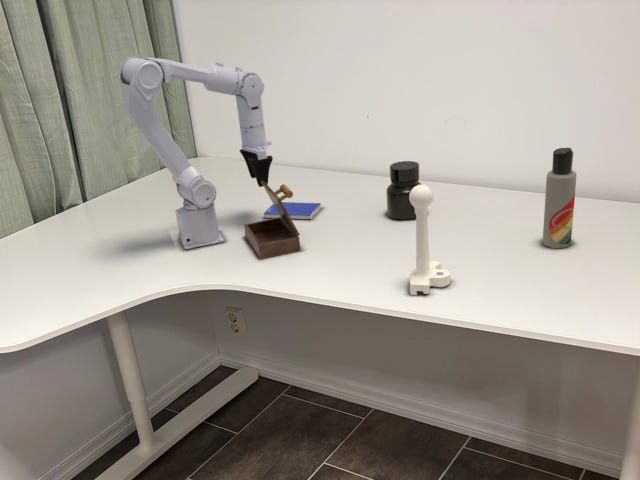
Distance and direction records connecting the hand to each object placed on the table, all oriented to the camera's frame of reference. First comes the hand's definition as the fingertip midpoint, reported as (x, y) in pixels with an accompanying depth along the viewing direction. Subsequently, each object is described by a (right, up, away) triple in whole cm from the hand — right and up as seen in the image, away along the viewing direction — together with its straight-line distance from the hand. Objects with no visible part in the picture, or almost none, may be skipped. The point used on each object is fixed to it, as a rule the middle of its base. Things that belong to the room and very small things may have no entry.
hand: (259, 181), depth 189 cm
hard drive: (+8, -6, +8) cm, 13 cm away
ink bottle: (+36, -8, -1) cm, 37 cm away
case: (+3, -16, -8) cm, 18 cm away
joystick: (+35, -28, -35) cm, 57 cm away
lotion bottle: (+64, -19, -25) cm, 71 cm away
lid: (+5, -9, -11) cm, 15 cm away
